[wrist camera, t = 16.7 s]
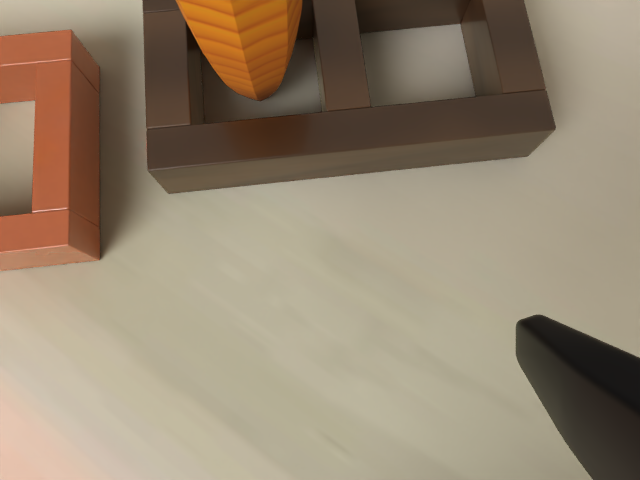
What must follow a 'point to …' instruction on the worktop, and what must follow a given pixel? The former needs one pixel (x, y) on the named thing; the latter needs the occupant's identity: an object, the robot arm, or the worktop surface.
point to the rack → (346, 100)
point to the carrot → (245, 40)
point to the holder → (55, 150)
